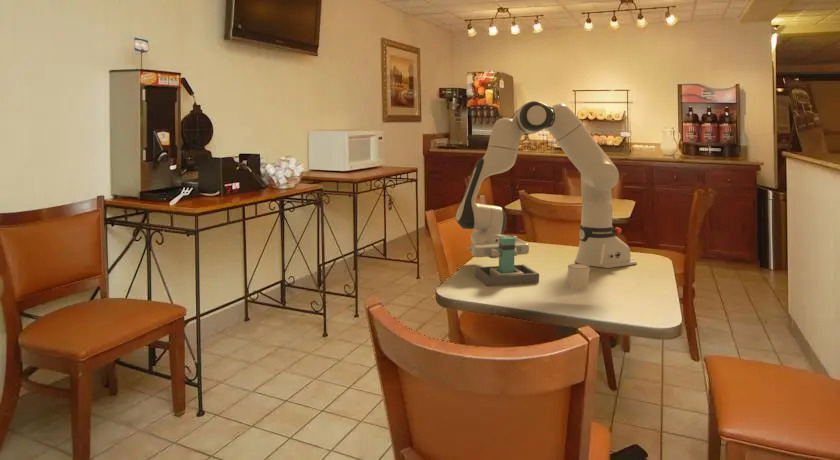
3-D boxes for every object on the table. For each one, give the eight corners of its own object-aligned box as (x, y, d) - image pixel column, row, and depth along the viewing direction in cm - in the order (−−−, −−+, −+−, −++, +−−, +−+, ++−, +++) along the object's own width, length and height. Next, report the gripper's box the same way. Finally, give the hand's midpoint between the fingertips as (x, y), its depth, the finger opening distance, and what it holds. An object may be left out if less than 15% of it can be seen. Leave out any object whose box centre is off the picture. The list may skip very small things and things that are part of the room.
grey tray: (523, 272, 200) (523, 264, 199) (538, 282, 187) (539, 273, 187) (475, 275, 196) (475, 267, 195) (487, 286, 183) (487, 277, 183)
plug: (509, 273, 194) (510, 236, 191) (514, 276, 190) (515, 238, 187) (498, 273, 193) (499, 236, 190) (502, 276, 189) (503, 239, 186)
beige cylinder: (590, 290, 178) (591, 269, 177) (567, 289, 179) (568, 268, 178) (588, 284, 184) (589, 263, 183) (566, 283, 186) (567, 263, 185)
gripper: (465, 238, 199) (478, 246, 186) (519, 235, 204) (535, 243, 191) (465, 255, 201) (478, 265, 187) (519, 252, 205) (535, 261, 192)
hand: (507, 254), depth 189 cm, fingers closed on plug, 4 cm apart
